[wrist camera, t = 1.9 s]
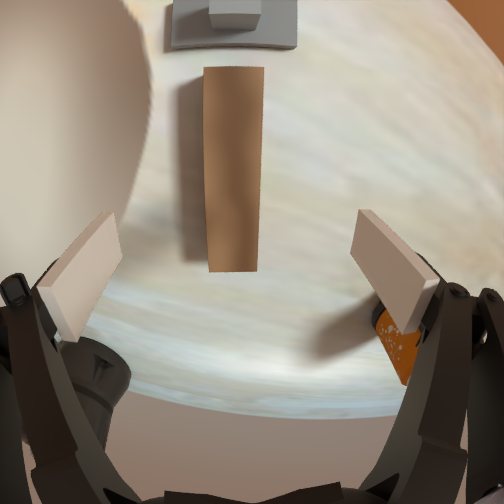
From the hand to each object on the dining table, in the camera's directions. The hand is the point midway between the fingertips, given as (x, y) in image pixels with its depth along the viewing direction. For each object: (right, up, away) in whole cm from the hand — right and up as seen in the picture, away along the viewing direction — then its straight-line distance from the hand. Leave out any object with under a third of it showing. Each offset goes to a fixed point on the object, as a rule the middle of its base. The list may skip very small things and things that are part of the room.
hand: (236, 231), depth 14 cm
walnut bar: (-1, +8, +14) cm, 16 cm away
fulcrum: (-1, +22, +6) cm, 23 cm away
